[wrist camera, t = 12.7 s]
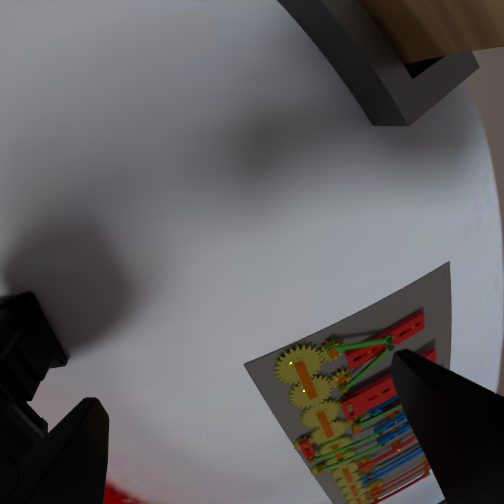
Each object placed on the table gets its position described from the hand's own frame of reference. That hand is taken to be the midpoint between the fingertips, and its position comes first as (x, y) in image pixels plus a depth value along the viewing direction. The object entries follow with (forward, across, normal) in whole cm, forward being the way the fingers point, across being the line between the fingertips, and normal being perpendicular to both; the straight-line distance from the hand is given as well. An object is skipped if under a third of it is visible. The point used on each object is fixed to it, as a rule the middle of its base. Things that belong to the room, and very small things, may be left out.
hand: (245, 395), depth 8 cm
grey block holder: (+14, -11, -13) cm, 22 cm away
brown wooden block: (+14, -11, -13) cm, 22 cm away
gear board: (+14, -14, +29) cm, 35 cm away
